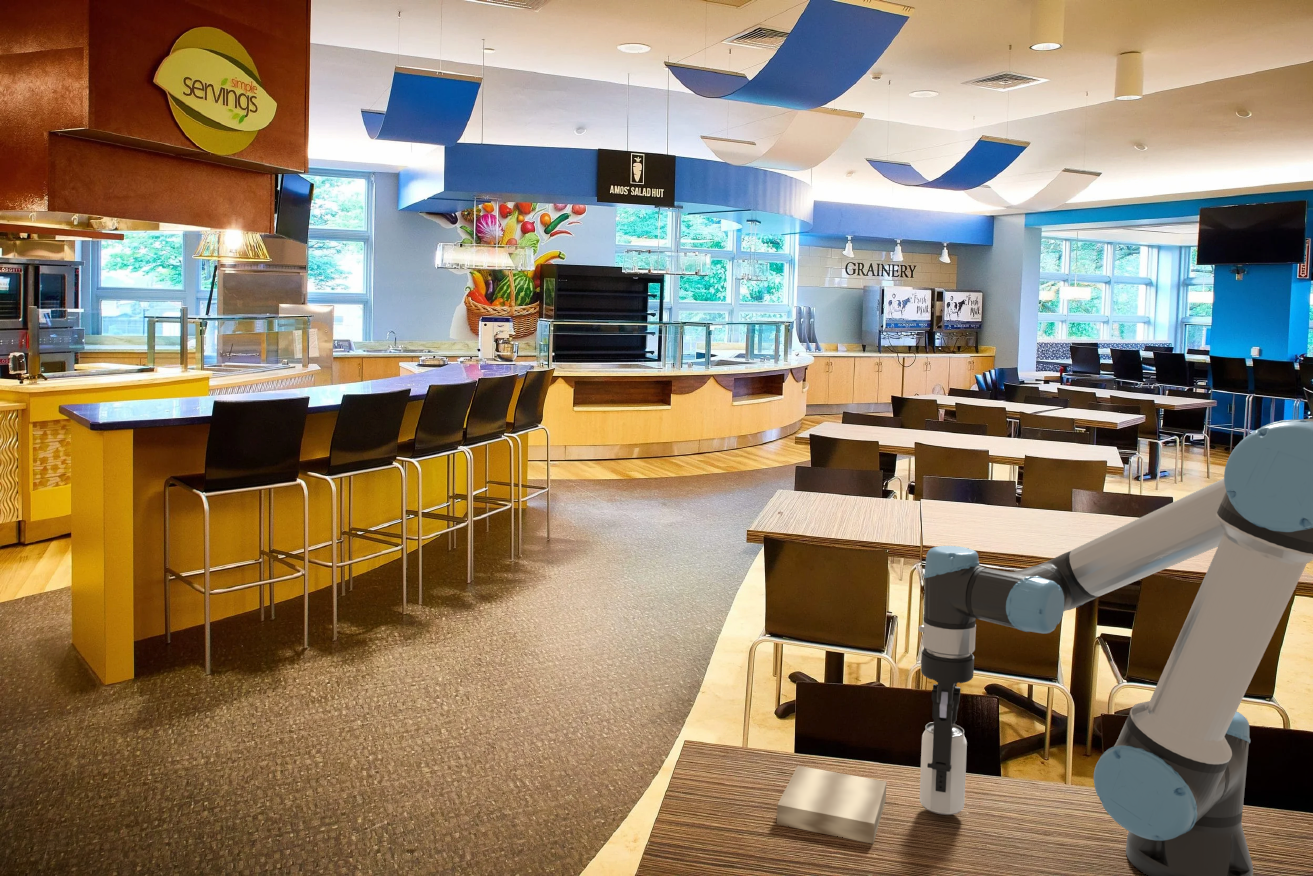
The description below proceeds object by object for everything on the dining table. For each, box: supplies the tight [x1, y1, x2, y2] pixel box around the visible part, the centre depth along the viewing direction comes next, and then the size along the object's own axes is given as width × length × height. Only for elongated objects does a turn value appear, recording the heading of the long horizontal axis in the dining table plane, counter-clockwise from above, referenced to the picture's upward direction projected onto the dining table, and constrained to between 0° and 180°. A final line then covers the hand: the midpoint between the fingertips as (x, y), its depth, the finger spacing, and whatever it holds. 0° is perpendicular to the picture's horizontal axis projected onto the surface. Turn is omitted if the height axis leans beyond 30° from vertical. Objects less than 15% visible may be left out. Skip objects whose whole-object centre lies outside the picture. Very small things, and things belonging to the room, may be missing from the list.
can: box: [919, 721, 968, 816], centre depth 141 cm, size 6×6×12 cm
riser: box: [776, 765, 887, 844], centre depth 142 cm, size 14×14×3 cm
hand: (941, 799), depth 142 cm, fingers closed on can, 6 cm apart
